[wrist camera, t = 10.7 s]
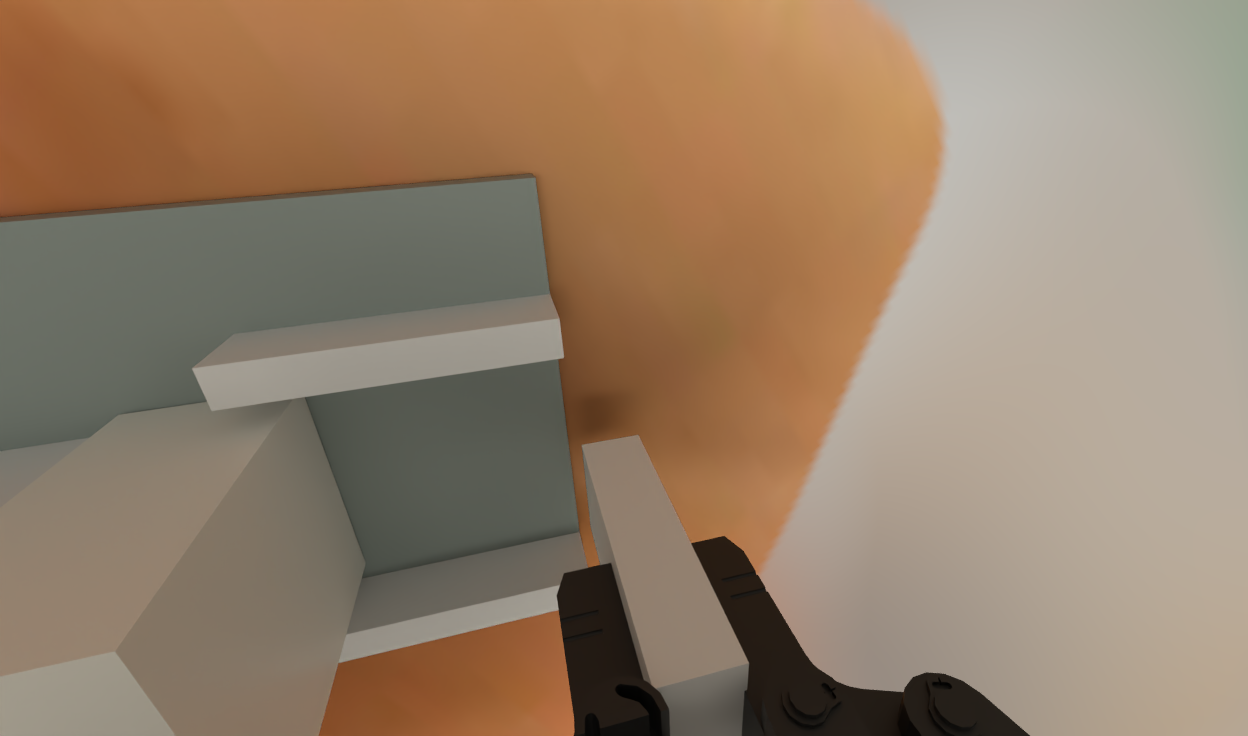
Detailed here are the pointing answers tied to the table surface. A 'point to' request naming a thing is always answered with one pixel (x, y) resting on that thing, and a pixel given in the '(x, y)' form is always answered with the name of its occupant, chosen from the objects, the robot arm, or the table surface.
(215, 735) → the block
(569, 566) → the mount
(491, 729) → the table surface
